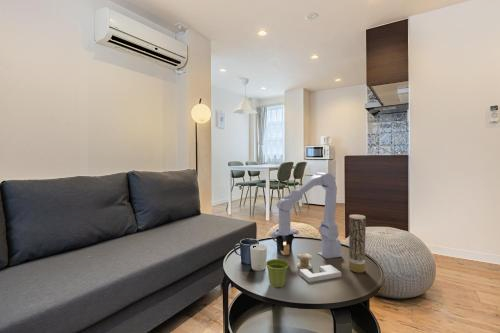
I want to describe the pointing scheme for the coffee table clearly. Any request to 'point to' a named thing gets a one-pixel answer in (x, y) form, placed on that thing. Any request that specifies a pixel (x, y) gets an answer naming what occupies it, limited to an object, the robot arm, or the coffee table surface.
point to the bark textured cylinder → (357, 243)
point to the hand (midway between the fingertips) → (284, 249)
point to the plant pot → (277, 272)
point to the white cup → (258, 257)
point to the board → (325, 273)
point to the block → (285, 248)
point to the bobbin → (304, 261)
